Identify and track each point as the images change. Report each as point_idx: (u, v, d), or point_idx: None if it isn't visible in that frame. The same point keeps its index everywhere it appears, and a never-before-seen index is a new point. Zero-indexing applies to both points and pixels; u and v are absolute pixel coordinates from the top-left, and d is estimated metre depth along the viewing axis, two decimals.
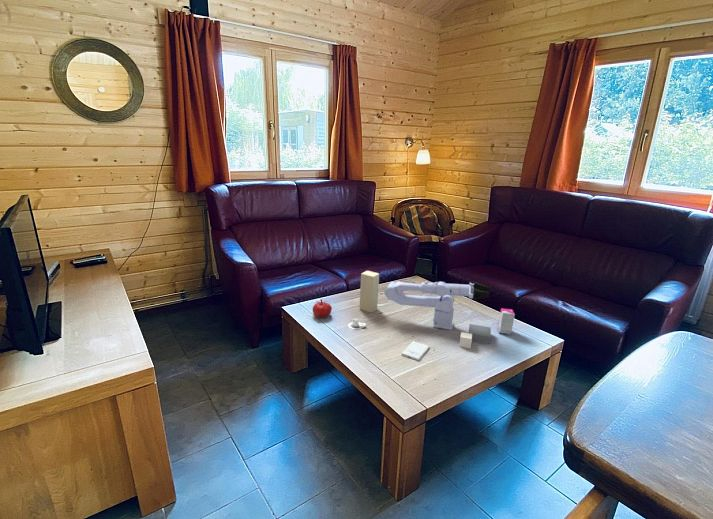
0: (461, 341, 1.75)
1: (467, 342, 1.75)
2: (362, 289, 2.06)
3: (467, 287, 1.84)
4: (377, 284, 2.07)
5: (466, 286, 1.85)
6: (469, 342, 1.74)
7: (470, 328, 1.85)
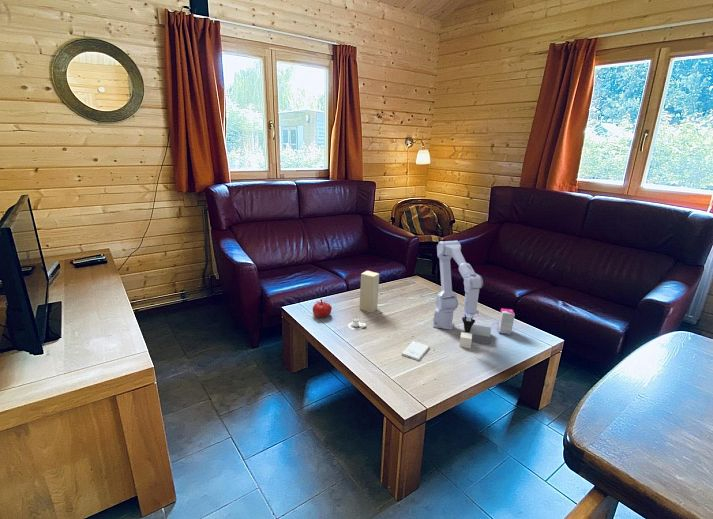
0: (461, 341, 1.75)
1: (467, 342, 1.75)
2: (362, 289, 2.06)
3: (474, 310, 1.70)
4: (377, 284, 2.07)
5: (475, 309, 1.70)
6: (469, 342, 1.74)
7: None
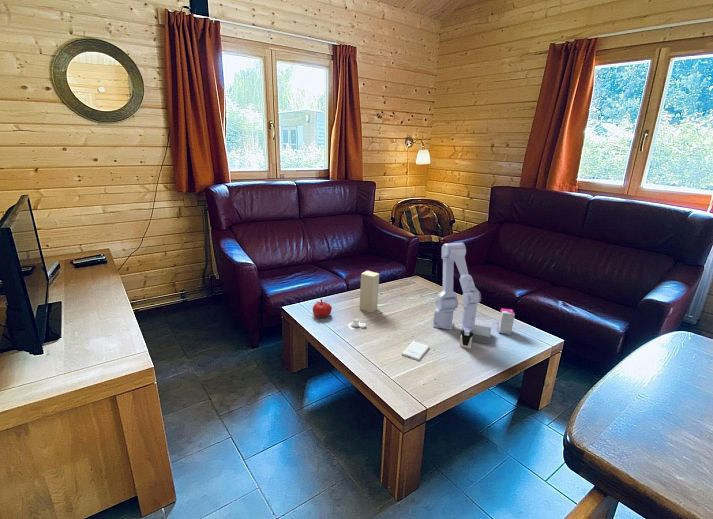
0: (461, 341, 1.75)
1: None
2: (362, 289, 2.06)
3: (473, 325, 1.72)
4: (377, 284, 2.07)
5: (473, 323, 1.72)
6: (469, 342, 1.74)
7: None
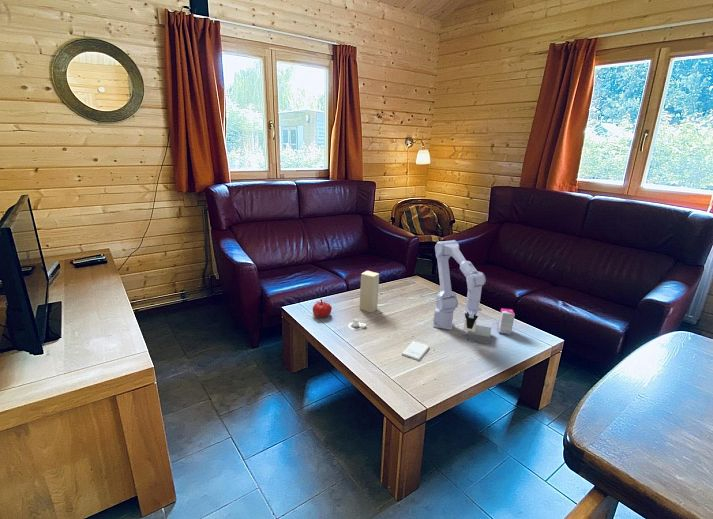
0: (465, 325, 1.74)
1: None
2: (362, 289, 2.06)
3: (477, 307, 1.71)
4: (377, 284, 2.07)
5: (478, 306, 1.71)
6: (474, 325, 1.73)
7: None
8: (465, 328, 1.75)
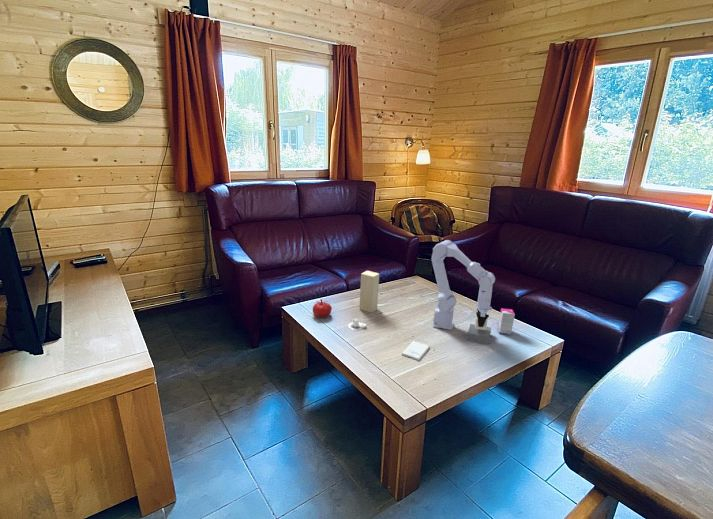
0: (476, 323, 1.81)
1: None
2: (362, 289, 2.06)
3: (488, 307, 1.78)
4: (377, 284, 2.07)
5: (489, 305, 1.78)
6: (485, 324, 1.80)
7: (470, 328, 1.85)
8: (476, 327, 1.81)
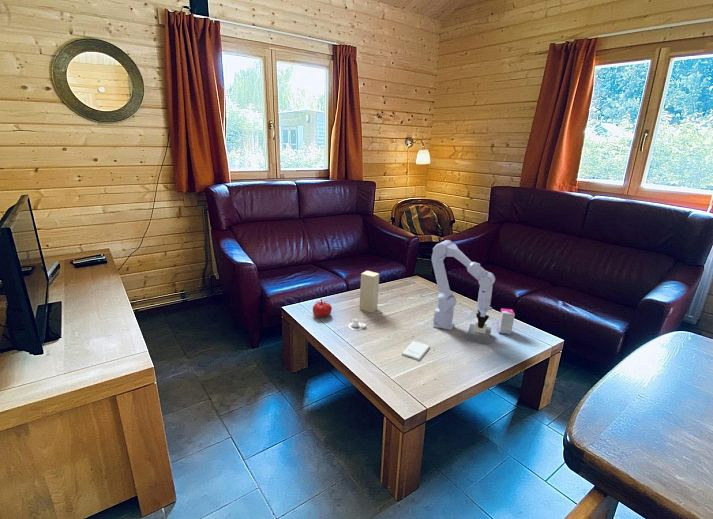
0: (476, 327, 1.82)
1: (482, 328, 1.81)
2: (362, 289, 2.06)
3: (488, 307, 1.78)
4: (377, 284, 2.07)
5: (489, 305, 1.78)
6: (484, 328, 1.80)
7: (470, 328, 1.85)
8: (476, 330, 1.82)
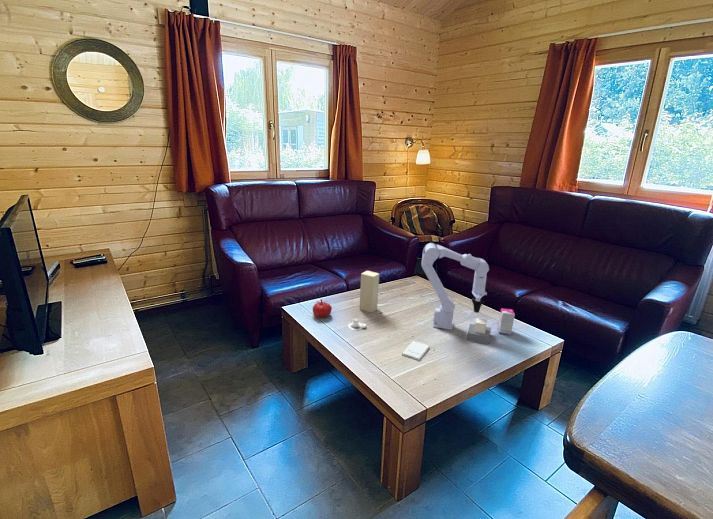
0: (475, 327, 1.82)
1: (482, 328, 1.81)
2: (362, 289, 2.06)
3: (483, 292, 1.86)
4: (377, 284, 2.07)
5: (484, 291, 1.86)
6: (484, 328, 1.80)
7: (469, 328, 1.85)
8: (475, 330, 1.82)
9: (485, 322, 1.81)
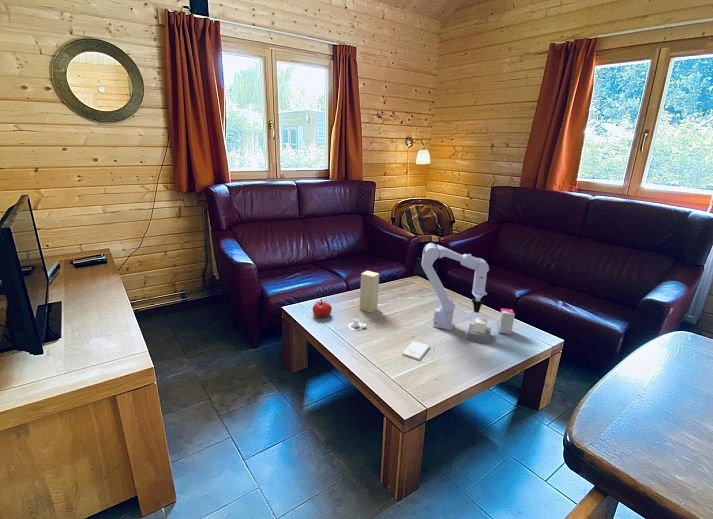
0: (475, 326, 1.82)
1: (482, 328, 1.81)
2: (362, 289, 2.06)
3: (483, 292, 1.86)
4: (377, 284, 2.07)
5: (484, 291, 1.86)
6: (484, 328, 1.80)
7: (469, 328, 1.85)
8: (475, 330, 1.82)
9: (485, 322, 1.81)
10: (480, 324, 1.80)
